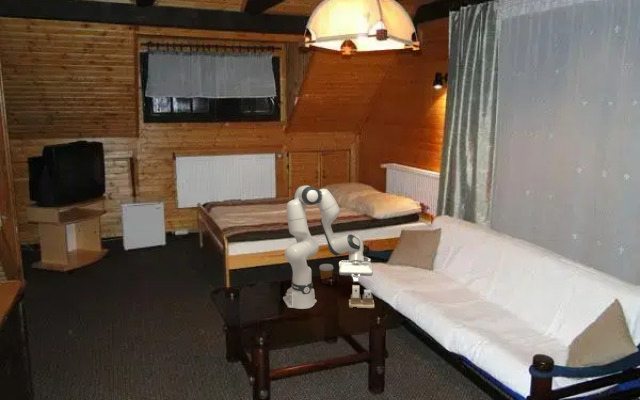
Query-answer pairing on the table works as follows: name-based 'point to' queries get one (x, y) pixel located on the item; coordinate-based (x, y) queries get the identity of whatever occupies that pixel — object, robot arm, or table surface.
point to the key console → (361, 302)
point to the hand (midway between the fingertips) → (355, 281)
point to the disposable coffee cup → (326, 270)
